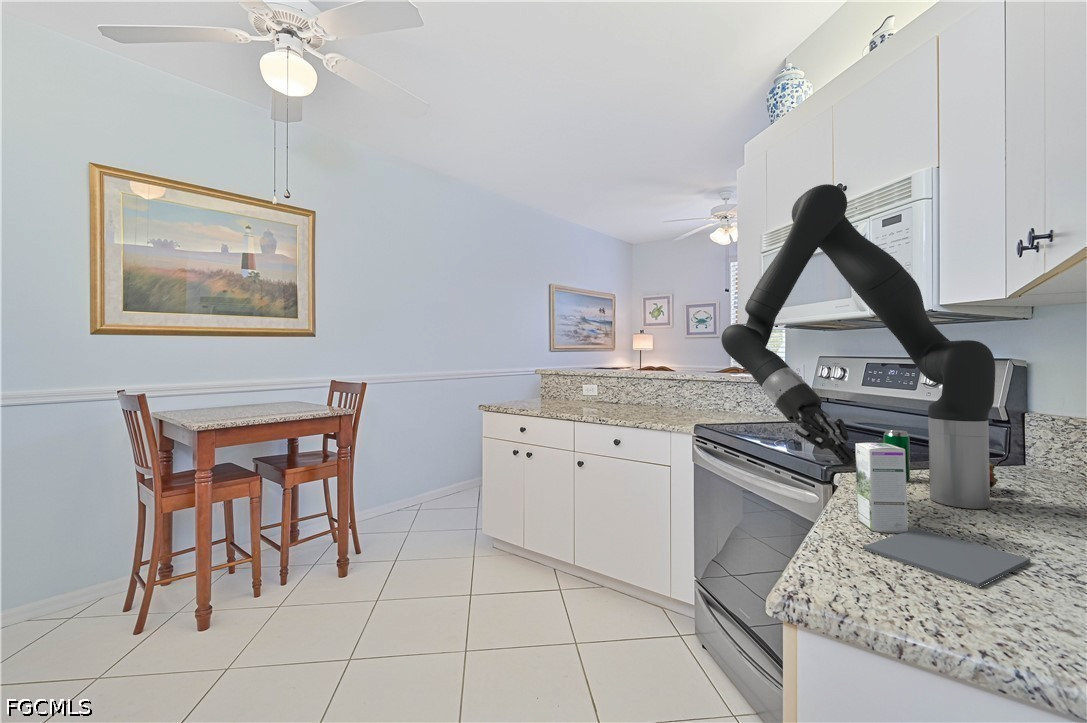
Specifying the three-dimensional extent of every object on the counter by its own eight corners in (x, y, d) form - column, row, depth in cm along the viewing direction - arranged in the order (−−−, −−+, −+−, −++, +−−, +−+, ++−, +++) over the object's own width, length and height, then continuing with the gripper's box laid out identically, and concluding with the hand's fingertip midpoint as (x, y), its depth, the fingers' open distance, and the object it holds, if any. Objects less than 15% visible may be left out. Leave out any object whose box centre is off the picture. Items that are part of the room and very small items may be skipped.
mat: (916, 531, 79) (916, 528, 79) (1030, 562, 67) (1030, 558, 67) (862, 549, 72) (862, 545, 72) (978, 588, 60) (978, 583, 60)
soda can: (915, 482, 111) (914, 432, 111) (894, 482, 111) (893, 432, 111) (899, 477, 116) (898, 429, 116) (879, 477, 116) (878, 429, 116)
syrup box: (909, 534, 78) (908, 448, 79) (870, 531, 80) (869, 447, 80) (891, 522, 84) (890, 442, 84) (855, 520, 85) (854, 441, 85)
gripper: (781, 383, 91) (846, 455, 80) (822, 381, 97) (888, 448, 86) (758, 407, 96) (817, 479, 85) (799, 404, 102) (859, 471, 91)
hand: (853, 463), depth 86 cm, fingers closed
